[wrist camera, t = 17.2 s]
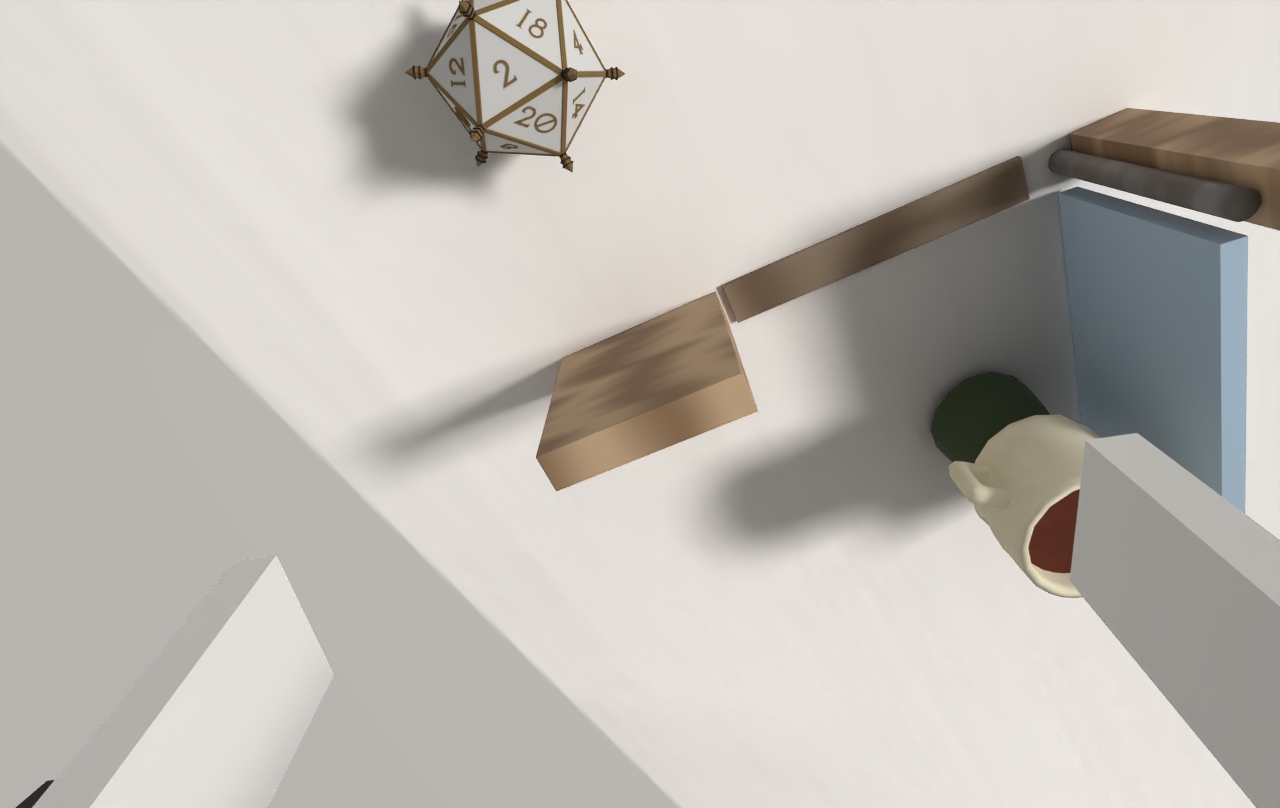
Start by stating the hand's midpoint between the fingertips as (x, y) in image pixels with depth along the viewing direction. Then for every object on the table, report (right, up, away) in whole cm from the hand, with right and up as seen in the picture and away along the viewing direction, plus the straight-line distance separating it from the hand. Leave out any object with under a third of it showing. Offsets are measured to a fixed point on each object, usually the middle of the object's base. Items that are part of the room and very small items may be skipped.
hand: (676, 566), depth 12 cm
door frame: (+10, +11, +29) cm, 32 cm away
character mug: (+21, +2, +33) cm, 39 cm away
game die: (-6, +20, +25) cm, 32 cm away
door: (+26, +7, +30) cm, 40 cm away
